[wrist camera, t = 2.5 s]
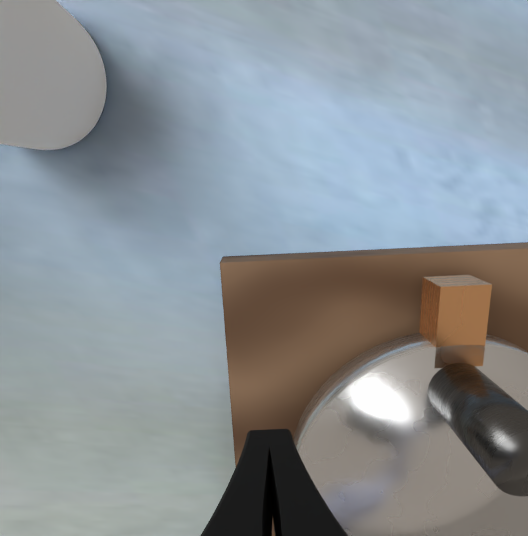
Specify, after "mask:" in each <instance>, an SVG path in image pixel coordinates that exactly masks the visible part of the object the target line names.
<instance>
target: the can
mask: <svg viewBox="0 0 528 536" xmlns="http://www.w3.org/2000/svg"><path fill="white" fill-rule="evenodd" d="M106 90H107V83H106V73H105V68H104V64H103V61H102V58H101V55H100V53H99V50H98V48H97V46H96V44H95V43H94V41H93V39H92V38H91V36H90V35H89V34H88V32H87V31H86V30H85V29H84V27H83V26H82V25H81V24H80V23H79V22H78V21H77V20H76V19H75V18H74V17H73V16H72V15H71V14H70V13H69V12H68V11H67V10H66V9H64V8H63V7H62V6H61V5H60V4H59V3H58V2H57V1H56V0H0V144H3V145H9V146H16V147H22V148H29V149H37V150H57V149H62V148H66V147H68V146H71V145H73V144H75V143H77V142H79V141H80V140H82V139H83V138H84V137H85V136H86V135H88V134H89V133H90V131H91V130H92V129H93V128H94V126H95V125H96V123H97V122H98V120H99V118H100V116H101V114H102V111H103V108H104V104H105V99H106Z"/></svg>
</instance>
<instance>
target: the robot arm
mask: <svg viewBox="0 0 528 536" xmlns="http://www.w3.org/2000/svg"><path fill="white" fill-rule="evenodd" d="M272 521H273V523H274V531H275V536H348V535H347V533H346V532H345V531H344V529H343V528H342V527H341V525H340V524H339V522H338V521H337V519H336V518H335V517H334V515H333V514H332V512H331V511H330V509H329V507H328V506H327V504H326V503H325V501H324V499H323V498H322V496H321V495H320V493H319V491H318V490H317V488H316V486H315V484H314V483H313V481H312V479H311V477H310V475H309V473H308V471H307V470H306V468H305V466H304V464H303V462H302V460H301V457H300V455H299V453H298V451H297V448H296V446H295V443H294V441H293V438H292V434H291V431H290V430H288V429H267V430H250V431H249V432H248V433H247V436H246V441H245V444H244V447H243V450H242V453H241V456H240V459H239V461H238V464H237V466H236V468H235V471H234V473H233V475H232V478H231V480H230V482H229V484H228V487H227V489H226V491H225V492H224V494H223V496H222V498H221V500H220V502H219V504H218V506H217V508H216V510H215V512H214V514H213V515H212V517H211V519H210V521H209V522H208V524H207V526H206V528H205V529H204V531H203V532H202V534H201V536H272Z"/></svg>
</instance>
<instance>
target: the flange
mask: <svg viewBox="0 0 528 536" xmlns="http://www.w3.org/2000/svg"><path fill="white" fill-rule="evenodd" d="M491 290H492V284H490V283H487V282H485V281H483V280H480V279H478V278H476V277H473V276H471V275H454V276H432V277H423V282H422V297H421V313H420V328H419V333H415V334H410V335H406V336H401V337H398V338H396V339H393V340H390V341H387V342H384V343H382V344H380V345H377V346H375V347H373V348H371V349H369V350H367V351H365V352H363V353H362V354H360V355H359V356H357V357H356V358H354V359H352V360H351V361H349V362H348V363H346V364H345V365H344V366H343V367H341V368H340V369H339V370H338V371H337V372H335V373H334V374H333V375H332V376H331V377H330V378H329V379H328V380H327V381H326V382H325V383H324V384H323V385H322V386H321V388H320V389H319V390H318V391H317V392H316V394H315V395H314V397H313V398H312V399H311V401H310V402H309V404H308V405H307V407H306V409H305V411H304V413H303V415H302V416H301V418H300V420H299V423H298V426H297V428H296V431H295V434H294V437H293V441H294V443H295V446H296V448H297V451H298V453H299V455H300V457H301V460H302V462H303V464H304V466H305V468H306V470H307V471H308V473H309V475H310V477H311V479H312V481H313V483H314V484H315V486H316V488H317V490H318V491H319V493H320V495H321V496H322V498H323V499H324V501H325V503H326V504H327V506H328V507H329V509H330V511H331V512H332V514H333V515H334V517H335V518H336V519H337V521H338V522H339V524H340V525H341V527H342V528H343V529H344V531H345V532H346V533H347V535H348V536H528V352H527V351H525V350H524V349H522V348H520V347H519V346H517V345H515V344H513V343H510V342H508V341H506V340H503V339H501V338H498V337H495V336H491V335H487V325H488V317H489V308H490V299H491Z"/></svg>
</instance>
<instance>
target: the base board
mask: <svg viewBox="0 0 528 536" xmlns="http://www.w3.org/2000/svg"><path fill="white" fill-rule="evenodd" d="M220 270H221V283H222V296H223V309H224V321H225V334H226V347H227V360H228V373H229V386H230V399H231V412H232V425H233V438H234V451H235V464H236V466H237V464H238V461H239V459H240V456H241V453H242V450H243V447H244V444H245V441H246V436H247V433H248V432H249V431H250V430H267V429H288V430H290V431H291V434H292V438H293V437H294V434H295V431H296V428H297V426H298V423H299V420H300V418H301V416H302V415H303V413H304V411H305V409H306V407H307V405H308V404H309V402H310V401H311V399H312V398H313V397H314V395H315V394H316V392H317V391H318V390H319V389H320V388H321V386H322V385H323V384H324V383H325V382H326V381H327V380H328V379H329V378H330V377H331V376H332V375H333V374H334V373H335V372H337V371H338V370H339V369H340V368H341V367H343V366H344V365H345V364H346V363H348V362H349V361H351V360H352V359H354V358H356V357H357V356H359V355H360V354H362V353H363V352H365V351H367V350H369V349H371V348H373V347H375V346H377V345H380V344H382V343H384V342H387V341H390V340H393V339H396V338H398V337H401V336H406V335H410V334H415V333H419V328H420V313H421V297H422V282H423V277H432V276H454V275H471V276H473V277H476V278H478V279H480V280H483V281H485V282H487V283H490V284H492V290H491V299H490V308H489V317H488V325H487V335H491V336H495V337H498V338H501V339H503V340H506V341H508V342H510V343H513V344H515V345H517V346H519V347H520V348H522V349H524V350H525V351H527V352H528V243H506V244H485V245H464V246H442V247H421V248H400V249H378V250H357V251H335V252H314V253H293V254H271V255H250V256H228V257H223V258H222V260H221V262H220ZM272 536H275V531H274V523H273V521H272Z"/></svg>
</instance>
